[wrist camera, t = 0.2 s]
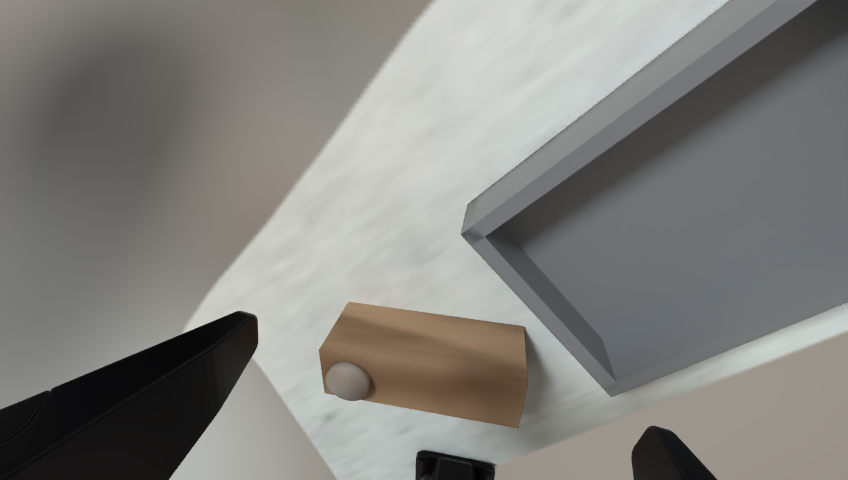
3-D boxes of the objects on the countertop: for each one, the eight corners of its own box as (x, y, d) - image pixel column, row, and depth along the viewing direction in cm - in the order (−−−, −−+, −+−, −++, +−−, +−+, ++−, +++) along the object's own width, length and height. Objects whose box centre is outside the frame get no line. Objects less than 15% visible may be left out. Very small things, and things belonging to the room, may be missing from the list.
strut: (516, 365, 27) (518, 437, 22) (352, 339, 28) (320, 400, 23) (523, 324, 25) (528, 393, 20) (349, 300, 27) (314, 357, 22)
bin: (596, 346, 24) (611, 397, 21) (467, 204, 22) (460, 234, 18) (959, 174, 17) (1080, 208, 13) (831, -80, 14) (940, -122, 11)
